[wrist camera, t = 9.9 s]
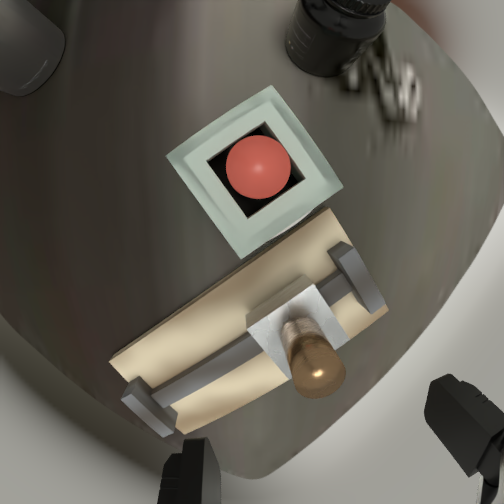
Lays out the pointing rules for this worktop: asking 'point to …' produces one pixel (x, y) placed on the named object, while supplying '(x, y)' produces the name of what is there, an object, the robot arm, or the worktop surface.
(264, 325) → the carriage
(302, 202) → the button box
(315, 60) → the supplement bottle
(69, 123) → the worktop surface
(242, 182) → the button
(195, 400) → the rail track
